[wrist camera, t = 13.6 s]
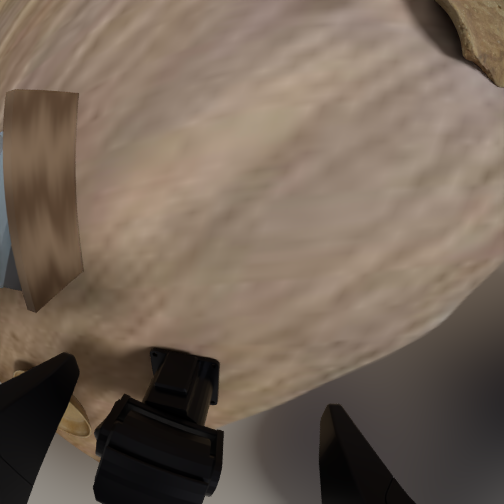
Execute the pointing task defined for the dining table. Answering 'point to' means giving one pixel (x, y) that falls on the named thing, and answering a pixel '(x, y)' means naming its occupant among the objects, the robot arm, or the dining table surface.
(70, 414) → the plant saucer
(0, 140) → the grey cube
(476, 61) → the pottery shard
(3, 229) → the trapdoor
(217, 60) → the dining table surface
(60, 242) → the frame
